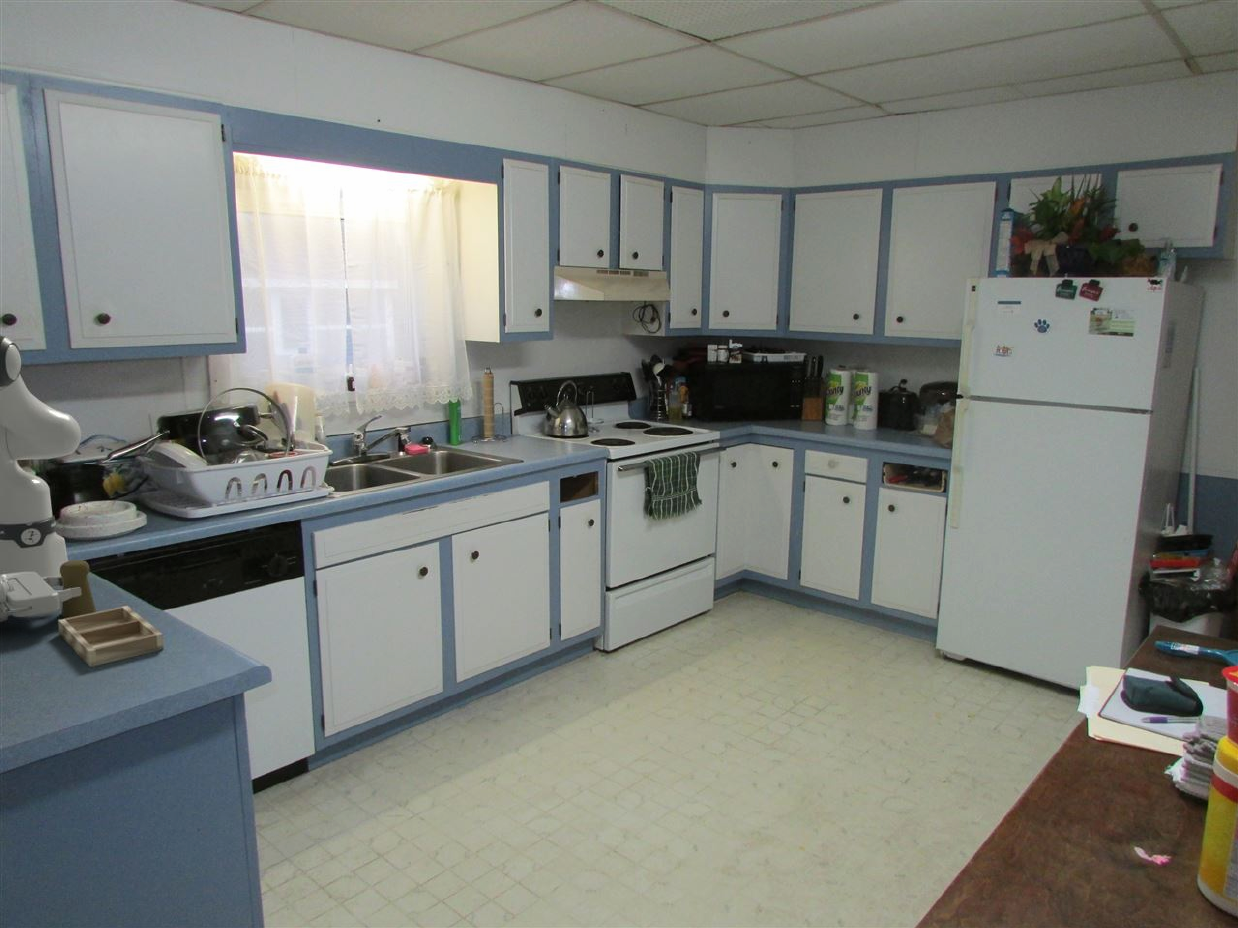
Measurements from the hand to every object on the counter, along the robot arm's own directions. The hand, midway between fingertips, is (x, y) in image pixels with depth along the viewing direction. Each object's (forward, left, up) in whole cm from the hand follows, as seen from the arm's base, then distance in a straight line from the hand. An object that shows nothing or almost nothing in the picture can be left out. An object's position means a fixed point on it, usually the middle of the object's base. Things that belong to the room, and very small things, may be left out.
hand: (74, 584), depth 175 cm
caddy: (+22, 0, -6) cm, 23 cm away
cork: (0, 0, -6) cm, 6 cm away
